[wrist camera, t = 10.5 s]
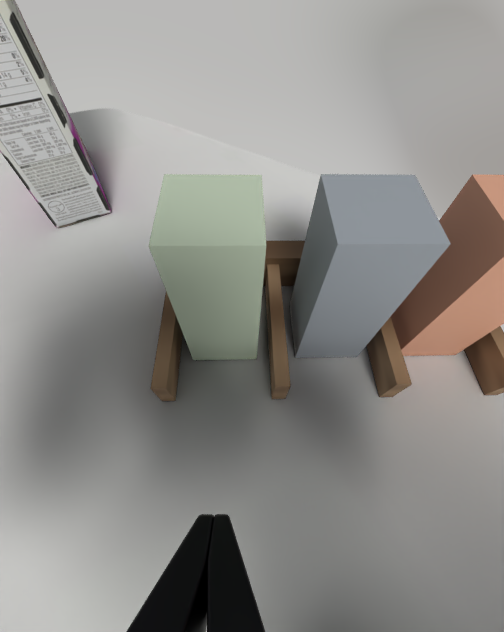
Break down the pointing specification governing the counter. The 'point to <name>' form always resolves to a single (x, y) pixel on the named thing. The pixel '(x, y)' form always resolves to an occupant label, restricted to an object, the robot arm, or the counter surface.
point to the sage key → (213, 260)
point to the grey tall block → (360, 260)
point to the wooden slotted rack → (281, 270)
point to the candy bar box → (42, 130)
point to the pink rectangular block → (460, 277)
